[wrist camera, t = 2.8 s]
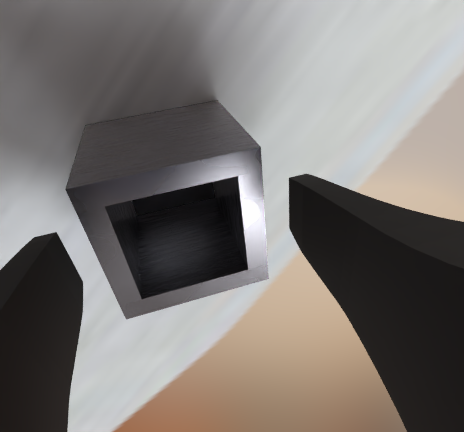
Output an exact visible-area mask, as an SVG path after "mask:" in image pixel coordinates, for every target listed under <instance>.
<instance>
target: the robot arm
mask: <svg viewBox="0 0 464 432" xmlns="http://www.w3.org/2000/svg"><path fill="white" fill-rule="evenodd" d="M289 228H290V230H291V232H292V234H293V236H294V238H295V240H296V242H297V244H298V246H299V248H300V250H301V251H302V253H303V255H304V256H305V257H306V259H307V260H308V262H309V263H310V264H311V266H312V267H313V269H314V270H315V271H316V273H317V274H318V276H319V277H320V278H321V280H322V281H323V282H324V284H325V285H326V287H327V288H328V289H329V291H330V292H331V293H332V295H333V296H334V298H335V299H336V300H337V302H338V303H339V305H340V306H341V308H342V309H343V311H344V312H345V314H346V315H347V317H348V319H349V321H350V322H351V324H352V326H353V328H354V329H355V331H356V333H357V335H358V336H359V338H360V340H361V342H362V343H363V345H364V347H365V349H366V351H367V353H368V355H369V356H370V358H371V360H372V362H373V364H374V366H375V368H376V369H377V371H378V373H379V375H380V377H381V379H382V381H383V383H384V385H385V387H386V389H387V391H388V393H389V395H390V397H391V399H392V401H393V403H394V405H395V407H396V409H397V411H398V413H399V415H400V417H401V419H402V422H403V423H404V426H405V428H406V430H407V432H464V222H461V221H455V220H450V219H445V218H440V217H436V216H432V215H428V214H424V213H420V212H416V211H412V210H409V209H405V208H402V207H398V206H395V205H392V204H389V203H386V202H383V201H380V200H376V199H374V198H371V197H368V196H365V195H362V194H360V193H357V192H355V191H352V190H349V189H347V188H344V187H342V186H339V185H337V184H334V183H332V182H329V181H326V180H324V179H321V178H318V177H316V176H313V175H309V174H304V175H299V176H295V177H291V178H289ZM82 313H83V281H82V279H81V277H80V275H79V274H78V272H77V270H76V268H75V266H74V264H73V262H72V260H71V258H70V257H69V255H68V253H67V251H66V249H65V247H64V245H63V243H62V241H61V240H60V238H59V236H58V234H57V232H55V233H51V234H47V235H42V236H38V237H34V238H33V239H32V240H31V241H29V242H28V243H27V244H26V245H25V246H24V247H23V248H22V249H21V250H20V251H19V252H18V253H17V254H16V255H15V256H14V257H13V258H12V259H11V260H10V261H9V262H8V263H7V264H6V265H5V266H4V267H3V268H2V269H1V270H0V432H67V427H68V408H69V396H70V388H71V381H72V375H73V369H74V363H75V357H76V351H77V345H78V339H79V332H80V326H81V320H82Z"/></svg>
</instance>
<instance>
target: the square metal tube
mask: <svg viewBox="0 0 464 432" xmlns="http://www.w3.org/2000/svg"><path fill="white" fill-rule="evenodd" d="M209 182H213V187H214V193H215V198H212V199H208V200H203V201H199V202H195V203H191V204H187V205H182V206H178V207H174V208H170V209H166V210H161V211H157V212H153V213H149V214H145V215H140V216H137V215H136V212H135V209H134V206H133V203H132V200H135V199H139V198H144V197H148V196H153V195H157V194H161V193H166V192H170V191H174V190H179V189H183V188H187V187H192V186H196V185H200V184H205V183H209ZM66 191H67V194H68V196H69V198H70V200H71V202H72V204H73V206H74V209H75V211H76V213H77V215H78V217H79V219H80V221H81V224H82V226H83V228H84V230H85V232H86V234H87V236H88V239H89V241H90V243H91V245H92V247H93V249H94V251H95V254H96V256H97V258H98V260H99V262H100V264H101V266H102V269H103V271H104V273H105V275H106V277H107V279H108V281H109V284H110V286H111V288H112V290H113V292H114V294H115V296H116V299H117V301H118V303H119V305H120V307H121V309H122V311H123V314H124V316H125V318H126V319H129V318H133V317H136V316H140V315H143V314H147V313H150V312H154V311H157V310H161V309H164V308H168V307H171V306H175V305H178V304H182V303H185V302H189V301H192V300H196V299H199V298H203V297H206V296H210V295H213V294H217V293H220V292H224V291H227V290H231V289H234V288H238V287H241V286H245V285H248V284H252V283H255V282H259V281H262V280H266V279H269V276H268V260H267V244H266V227H265V211H264V195H263V179H262V162H261V147H260V146H259V145H258V144H257V143H256V141H255V140H254V139H253V138H252V137H251V136H250V135H249V134H248V133H247V132H246V131H245V130H244V128H243V127H242V126H241V125H240V124H239V123H238V122H237V121H236V120H235V119H234V118H233V117H232V116H231V114H230V113H229V112H228V111H227V110H226V109H225V108H224V107H223V106H222V105H221V104H220V103H219V101H218V100H217V101H212V102H206V103H201V104H196V105H191V106H185V107H180V108H175V109H169V110H164V111H159V112H154V113H148V114H143V115H138V116H132V117H127V118H122V119H117V120H111V121H106V122H101V123H95V124H90V125H85V128H84V132H83V135H82V138H81V141H80V144H79V148H78V151H77V154H76V157H75V160H74V164H73V167H72V170H71V173H70V177H69V180H68V183H67V186H66Z"/></svg>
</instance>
